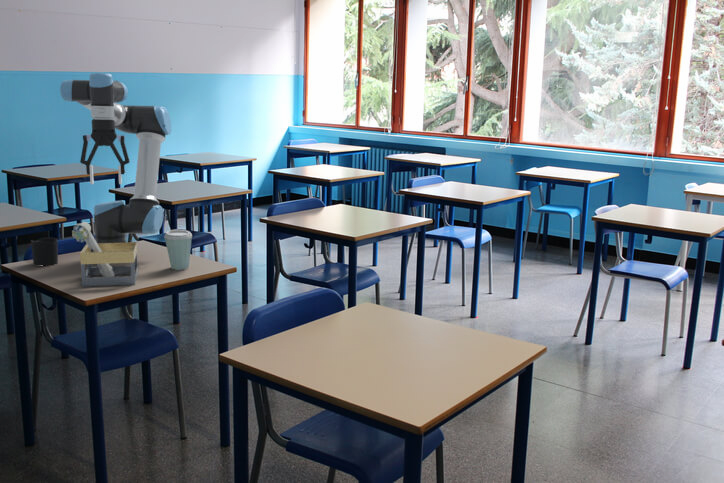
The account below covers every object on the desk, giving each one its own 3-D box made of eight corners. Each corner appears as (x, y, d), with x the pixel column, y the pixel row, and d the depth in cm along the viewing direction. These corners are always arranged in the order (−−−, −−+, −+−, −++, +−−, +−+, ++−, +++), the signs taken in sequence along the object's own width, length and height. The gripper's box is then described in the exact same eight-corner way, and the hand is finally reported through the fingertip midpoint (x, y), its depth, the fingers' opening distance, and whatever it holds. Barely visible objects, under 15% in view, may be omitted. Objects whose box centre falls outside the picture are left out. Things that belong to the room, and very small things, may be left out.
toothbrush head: (118, 273, 244) (90, 216, 230) (110, 284, 238) (81, 227, 224) (106, 273, 245) (77, 217, 231) (97, 285, 240) (67, 228, 226)
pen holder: (59, 266, 262) (57, 241, 260) (32, 268, 258) (31, 242, 256) (58, 261, 271) (56, 237, 269) (32, 263, 266) (30, 238, 264)
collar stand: (88, 275, 249) (86, 243, 247) (137, 273, 253) (136, 242, 251) (82, 286, 232) (80, 253, 230) (135, 284, 237) (133, 251, 235)
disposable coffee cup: (199, 268, 263) (198, 231, 260) (178, 273, 254) (176, 234, 251) (180, 264, 269) (179, 228, 266) (159, 269, 260) (157, 231, 257)
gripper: (68, 118, 226) (72, 185, 230) (134, 119, 231) (137, 184, 236) (71, 118, 233) (75, 182, 237) (136, 119, 239) (138, 182, 243)
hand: (106, 183), depth 236 cm, fingers open, 9 cm apart
